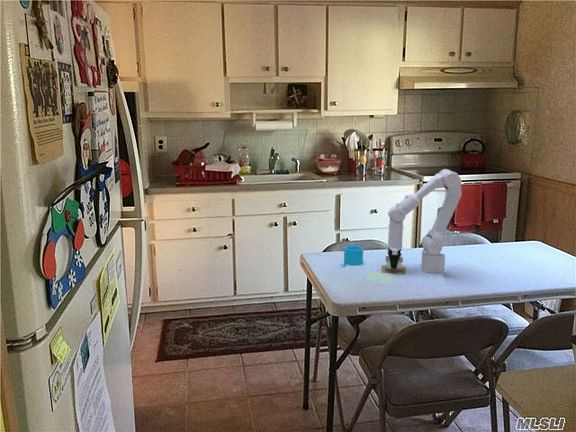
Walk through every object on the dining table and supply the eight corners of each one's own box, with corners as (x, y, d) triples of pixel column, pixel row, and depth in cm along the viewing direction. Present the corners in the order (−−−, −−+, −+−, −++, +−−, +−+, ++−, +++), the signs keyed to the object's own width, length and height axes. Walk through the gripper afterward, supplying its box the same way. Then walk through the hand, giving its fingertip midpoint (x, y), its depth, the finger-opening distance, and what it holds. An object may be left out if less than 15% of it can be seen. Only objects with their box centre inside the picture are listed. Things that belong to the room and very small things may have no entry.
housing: (401, 268, 219) (402, 257, 217) (402, 271, 215) (402, 259, 214) (385, 267, 220) (385, 255, 219) (385, 270, 216) (385, 258, 215)
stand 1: (393, 277, 212) (393, 274, 212) (393, 285, 202) (393, 282, 202) (368, 275, 214) (368, 272, 213) (367, 283, 204) (367, 280, 204)
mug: (364, 268, 224) (365, 250, 222) (346, 269, 222) (347, 251, 220) (356, 260, 235) (357, 243, 233) (339, 261, 234) (339, 243, 232)
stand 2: (405, 270, 222) (405, 266, 221) (405, 277, 212) (405, 274, 212) (381, 268, 223) (381, 265, 223) (381, 275, 214) (381, 272, 213)
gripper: (385, 230, 222) (384, 261, 225) (385, 239, 208) (383, 271, 211) (402, 231, 221) (400, 262, 223) (403, 240, 207) (401, 272, 210)
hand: (393, 266), depth 217 cm, fingers closed on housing, 4 cm apart
